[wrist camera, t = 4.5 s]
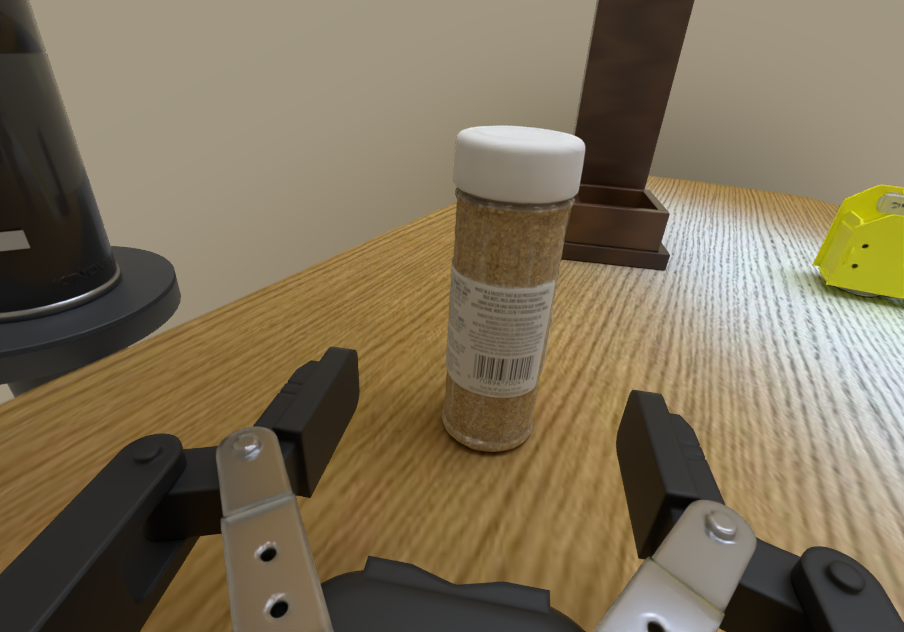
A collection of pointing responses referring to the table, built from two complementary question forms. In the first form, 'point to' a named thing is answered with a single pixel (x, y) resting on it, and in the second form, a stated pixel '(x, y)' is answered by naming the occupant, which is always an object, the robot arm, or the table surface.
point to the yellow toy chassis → (866, 245)
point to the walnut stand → (624, 131)
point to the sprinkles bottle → (504, 276)
